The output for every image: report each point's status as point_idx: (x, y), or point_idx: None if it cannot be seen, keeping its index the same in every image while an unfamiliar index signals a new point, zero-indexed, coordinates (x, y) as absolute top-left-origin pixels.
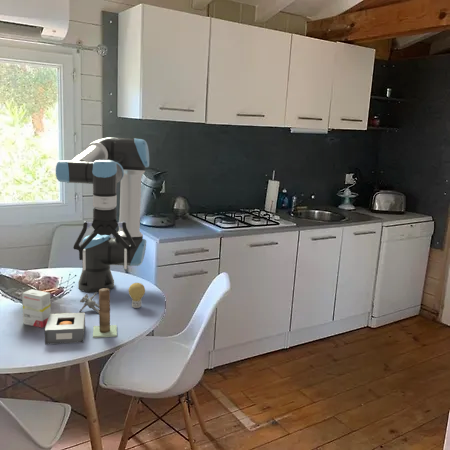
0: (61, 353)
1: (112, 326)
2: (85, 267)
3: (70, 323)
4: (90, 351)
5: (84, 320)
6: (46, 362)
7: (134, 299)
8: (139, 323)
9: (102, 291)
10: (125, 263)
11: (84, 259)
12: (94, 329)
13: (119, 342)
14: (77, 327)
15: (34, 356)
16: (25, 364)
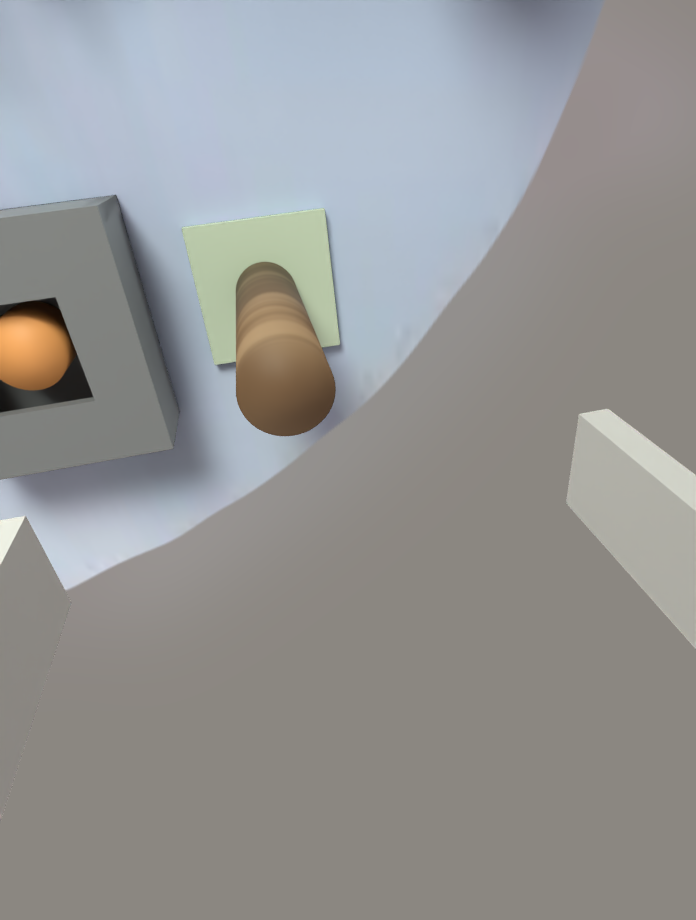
0: (115, 511)
1: (302, 232)
2: (45, 579)
3: (57, 353)
4: (239, 485)
5: (125, 274)
6: (84, 576)
7: None
8: (461, 154)
9: (275, 426)
10: (623, 549)
11: (10, 751)
12: (201, 280)
13: (356, 399)
14: (136, 439)
15: None
16: None
